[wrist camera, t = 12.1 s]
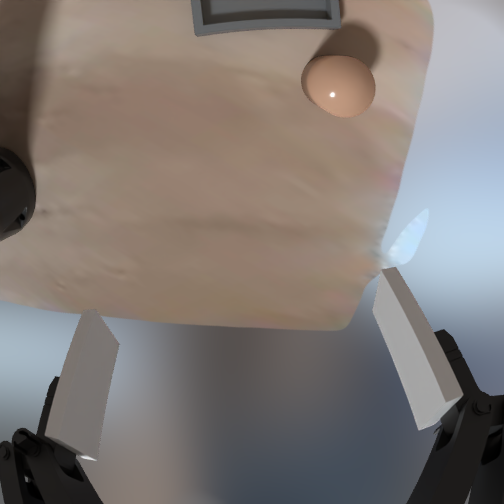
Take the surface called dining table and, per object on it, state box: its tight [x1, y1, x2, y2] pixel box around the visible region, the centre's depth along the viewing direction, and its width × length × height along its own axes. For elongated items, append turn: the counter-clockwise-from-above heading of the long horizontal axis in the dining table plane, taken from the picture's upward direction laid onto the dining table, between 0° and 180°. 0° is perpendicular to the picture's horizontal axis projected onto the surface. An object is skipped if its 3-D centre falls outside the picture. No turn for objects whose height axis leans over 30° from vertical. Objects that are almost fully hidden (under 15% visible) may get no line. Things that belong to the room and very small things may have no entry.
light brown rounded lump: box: [301, 55, 375, 118], centre depth 29 cm, size 7×7×6 cm
